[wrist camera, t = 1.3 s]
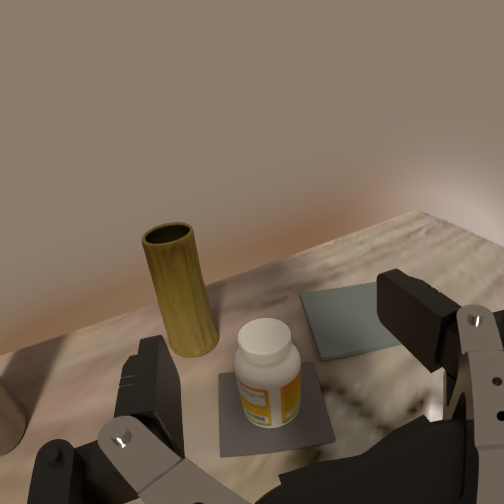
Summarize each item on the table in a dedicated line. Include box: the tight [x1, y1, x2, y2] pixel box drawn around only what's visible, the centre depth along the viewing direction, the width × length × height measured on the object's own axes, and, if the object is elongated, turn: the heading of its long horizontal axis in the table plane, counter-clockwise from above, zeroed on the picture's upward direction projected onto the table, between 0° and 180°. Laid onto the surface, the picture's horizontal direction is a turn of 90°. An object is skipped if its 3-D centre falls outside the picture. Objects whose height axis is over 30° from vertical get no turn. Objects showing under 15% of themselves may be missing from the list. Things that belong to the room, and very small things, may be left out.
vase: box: [142, 222, 219, 357], centre depth 34 cm, size 6×6×14 cm
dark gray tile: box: [219, 362, 335, 457], centre depth 27 cm, size 10×10×1 cm
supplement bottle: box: [233, 318, 301, 428], centre depth 25 cm, size 5×5×10 cm
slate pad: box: [300, 282, 402, 361], centre depth 37 cm, size 12×12×1 cm
